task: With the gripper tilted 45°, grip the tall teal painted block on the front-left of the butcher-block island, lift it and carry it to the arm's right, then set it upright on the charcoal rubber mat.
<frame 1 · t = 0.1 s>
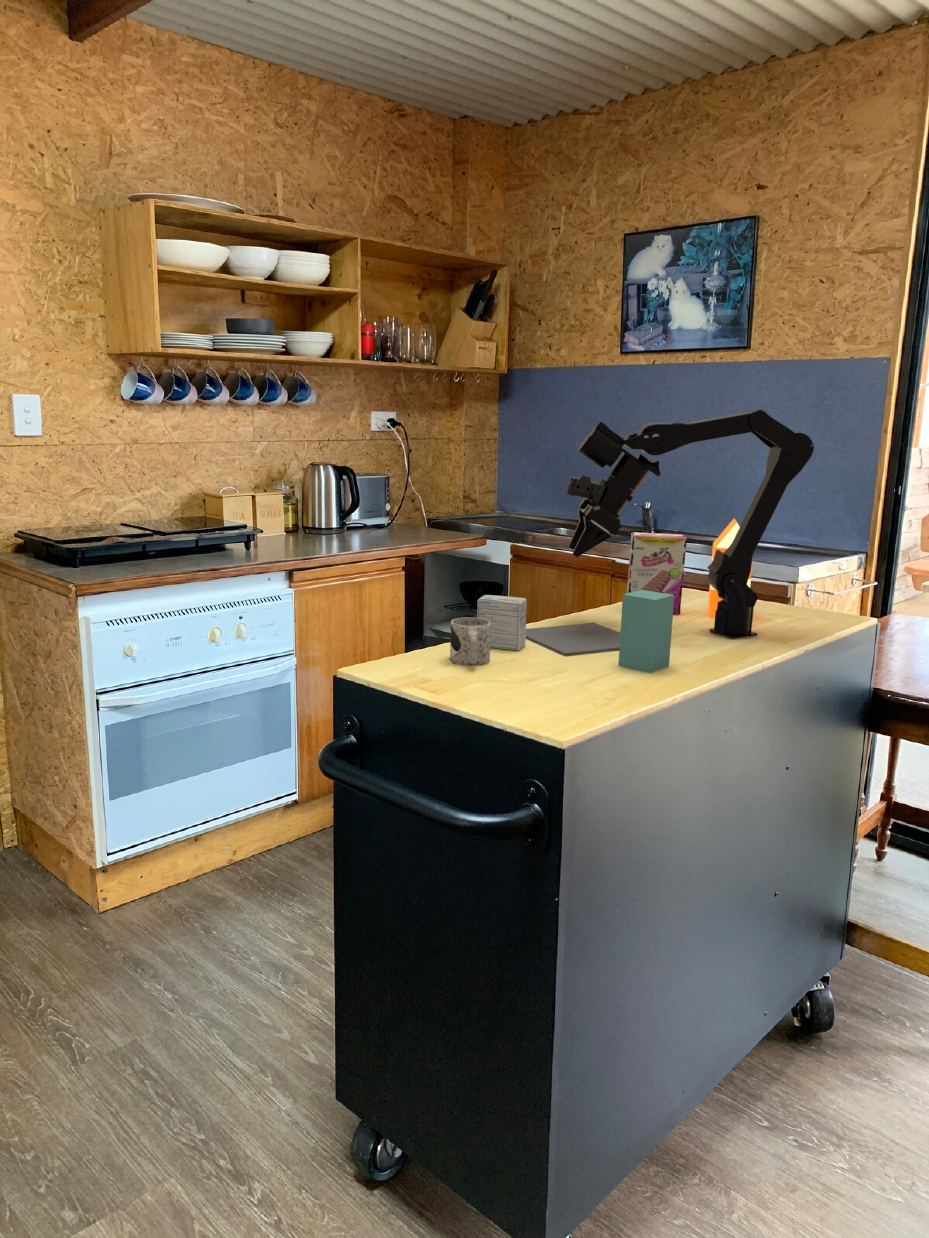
hand: (572, 552, 175), 15 cm above the countertop, tool tilted 35°, fingers open, 9 cm apart
teal block: (643, 665, 153), on the countertop
candy bar box: (652, 612, 195), on the countertop
mug: (470, 664, 153), on the countertop
medicine box: (500, 647, 164), on the countertop
charcoal mat: (580, 639, 170), on the countertop
orange juice: (726, 616, 194), on the countertop
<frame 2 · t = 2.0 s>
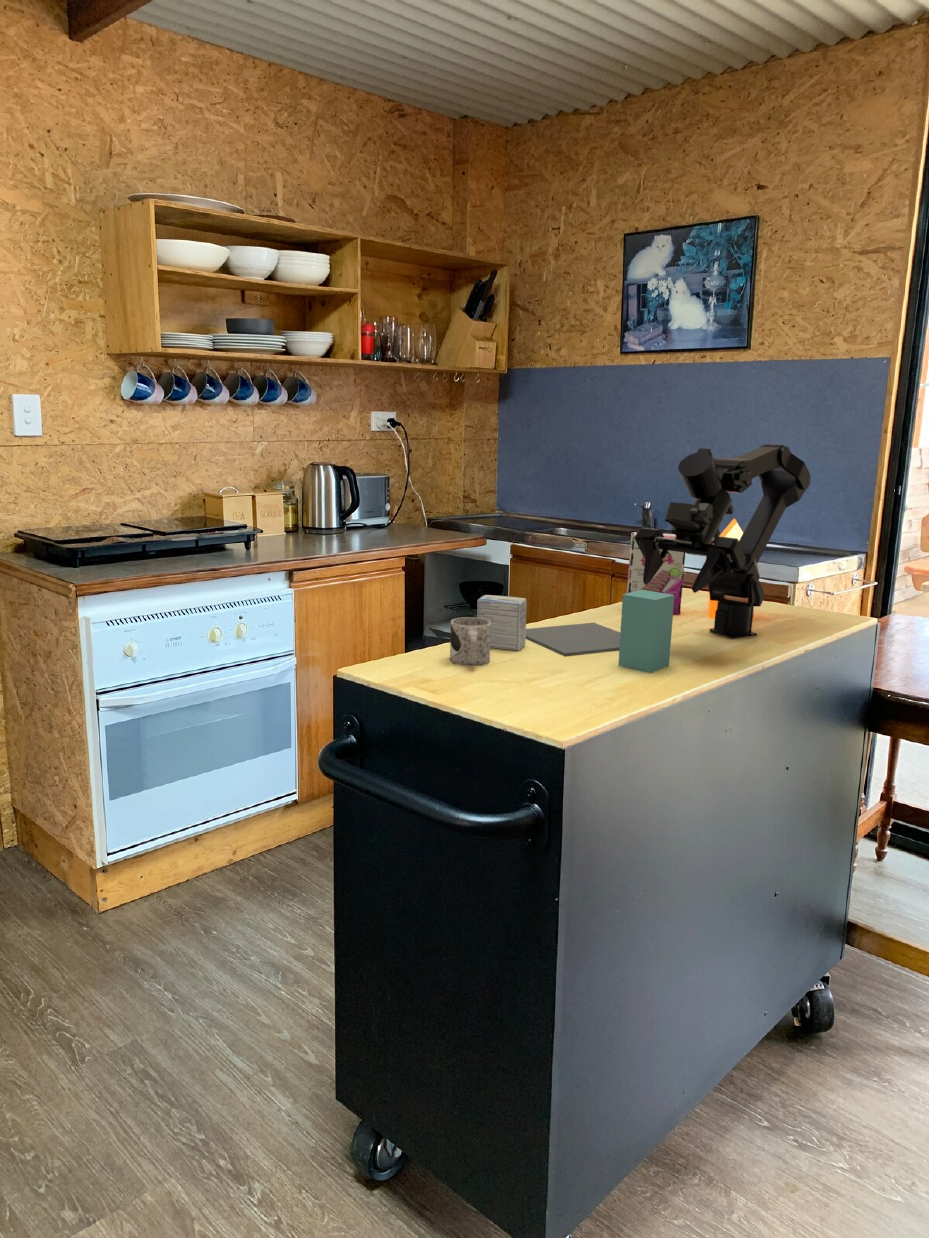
hand: (668, 586, 155), 12 cm above the countertop, tool tilted 45°, fingers open, 9 cm apart
nothing on the countertop moved.
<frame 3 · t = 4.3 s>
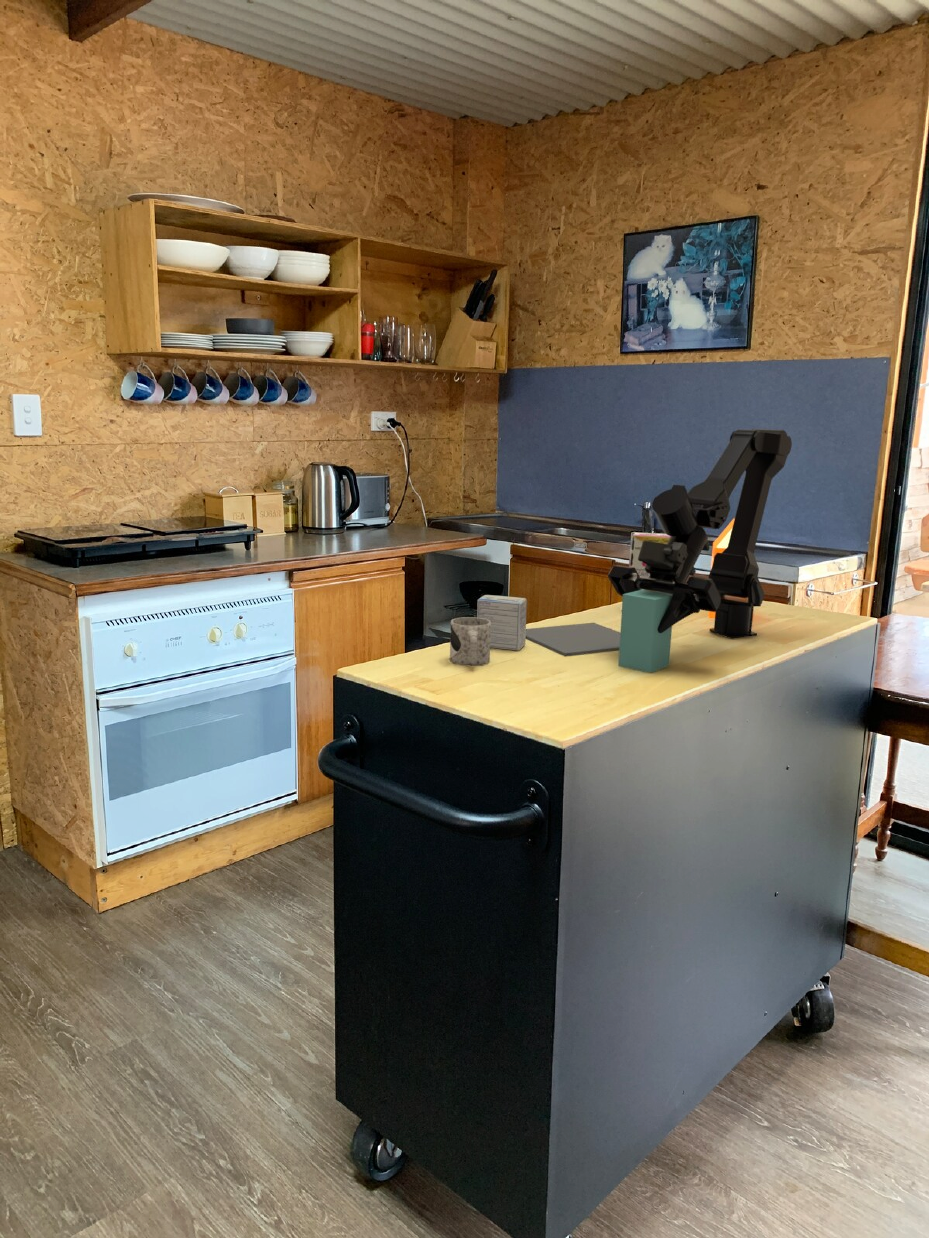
hand: (641, 628, 151), 7 cm above the countertop, tool tilted 45°, fingers closed on teal block, 6 cm apart
teal block: (643, 665, 153), on the countertop, touching gripper
everything else where it was.
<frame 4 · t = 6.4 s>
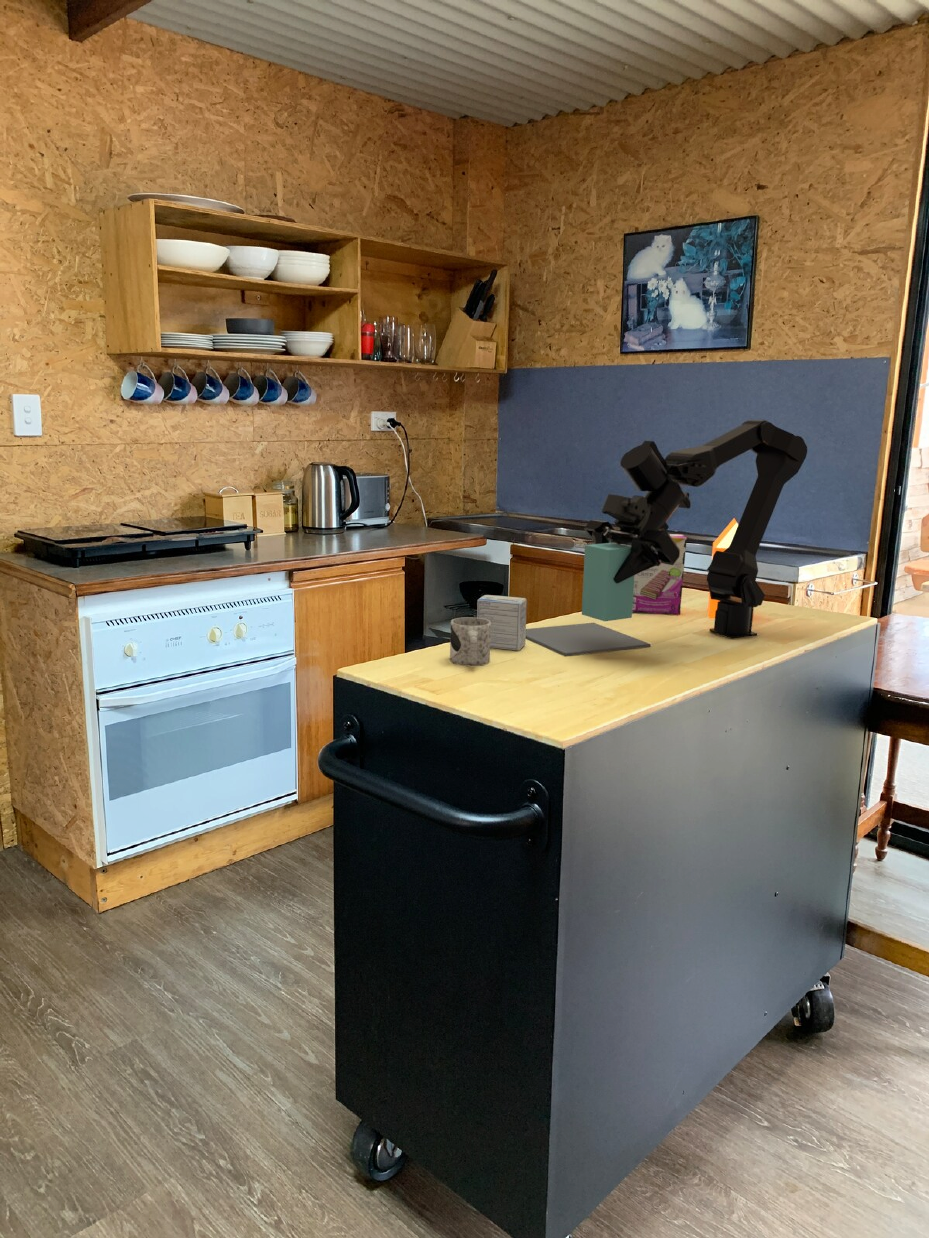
hand: (602, 578, 156), 13 cm above the countertop, tool tilted 45°, fingers closed on teal block, 6 cm apart
teal block: (606, 616, 158), point 7 cm above the countertop, touching gripper
everything else where it was.
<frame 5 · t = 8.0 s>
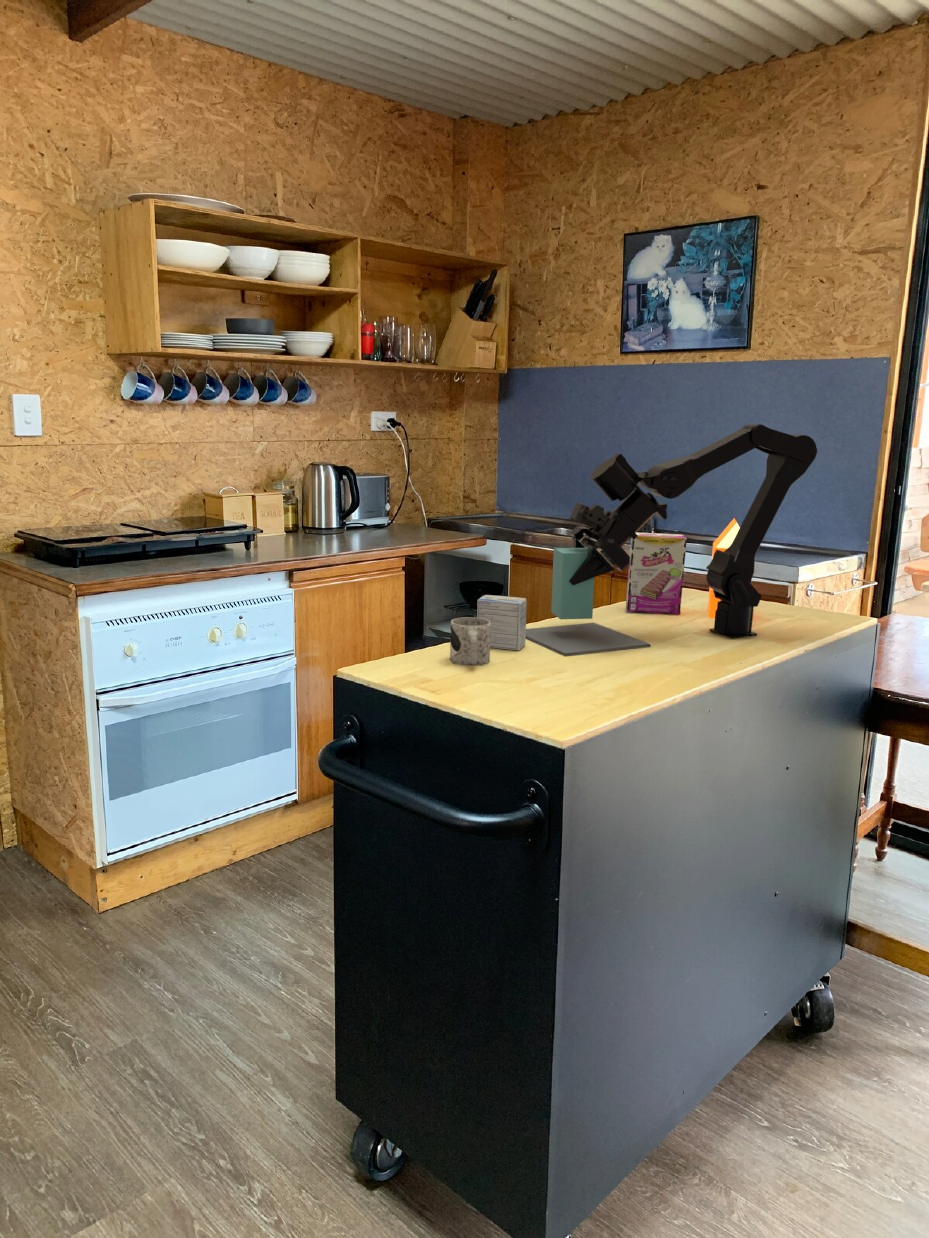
hand: (566, 580, 169), 11 cm above the countertop, tool tilted 45°, fingers closed on teal block, 6 cm apart
teal block: (571, 615, 170), point 4 cm above the countertop, touching gripper
everything else where it was.
when the fingers open (8 cm above the countertop, at t = 8.9 s): teal block drops 1 cm, resting on charcoal mat.
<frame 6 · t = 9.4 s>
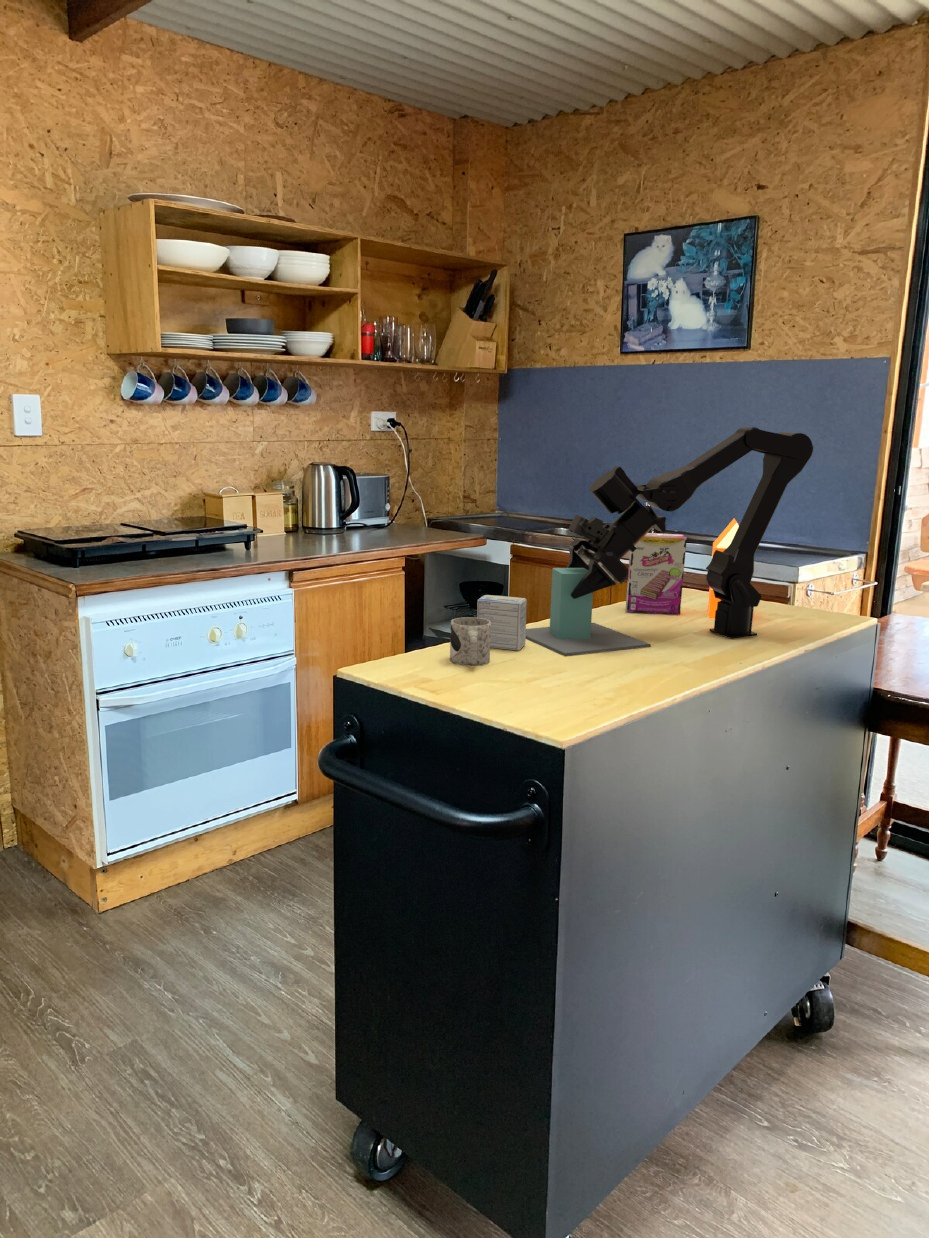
hand: (564, 592, 169), 9 cm above the countertop, tool tilted 45°, fingers open, 9 cm apart
teal block: (569, 634, 171), resting on charcoal mat
everything else where it was.
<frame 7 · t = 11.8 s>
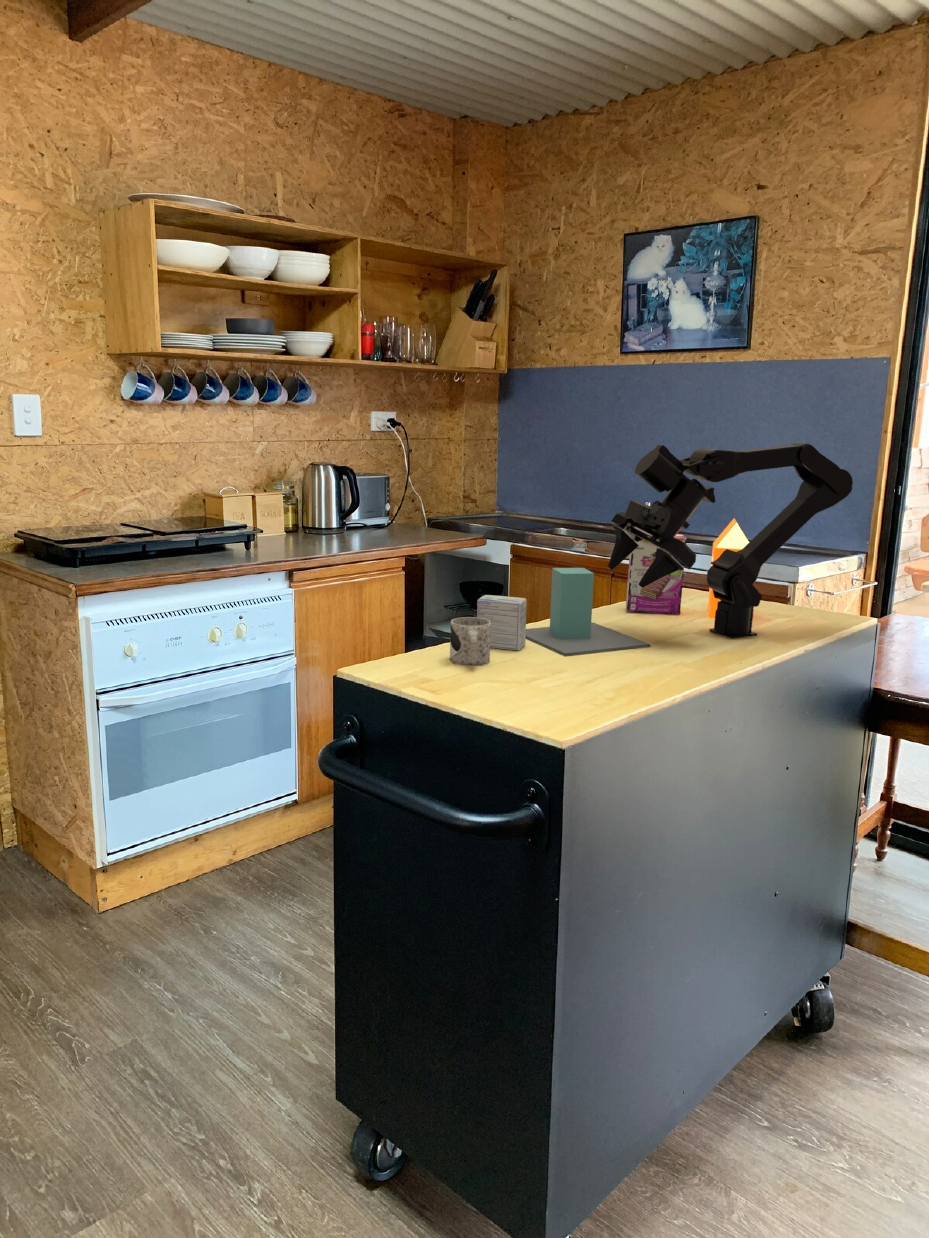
hand: (624, 577, 169), 11 cm above the countertop, tool tilted 35°, fingers open, 9 cm apart
nothing on the countertop moved.
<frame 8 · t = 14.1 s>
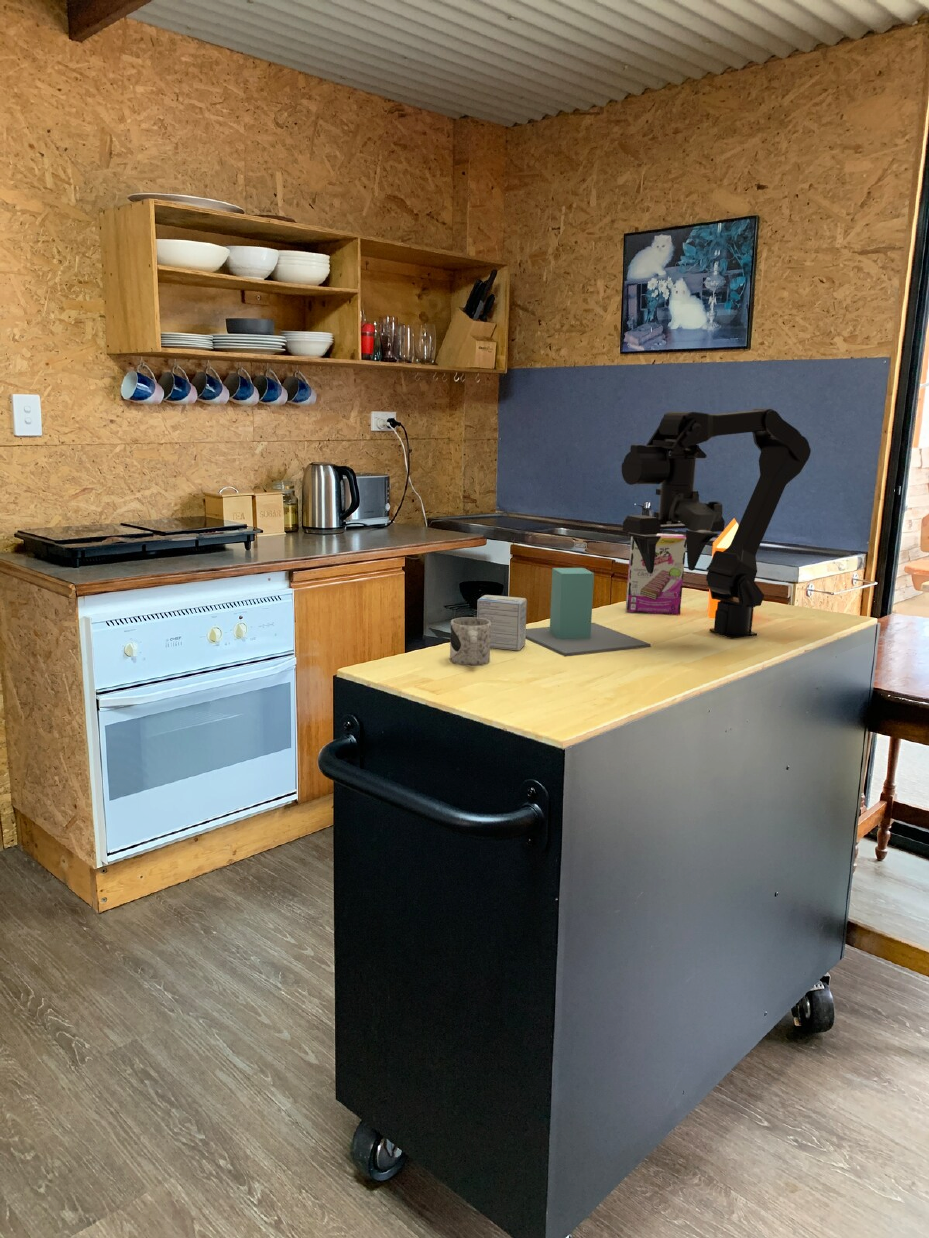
hand: (670, 571, 167), 13 cm above the countertop, tool pointing down, fingers open, 9 cm apart
nothing on the countertop moved.
at the end: teal block inside the target area on the charcoal mat (2.3 cm from its centre), point 0.5 cm above the charcoal mat's base; teal block tilted 0°; the gripper is holding nothing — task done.
